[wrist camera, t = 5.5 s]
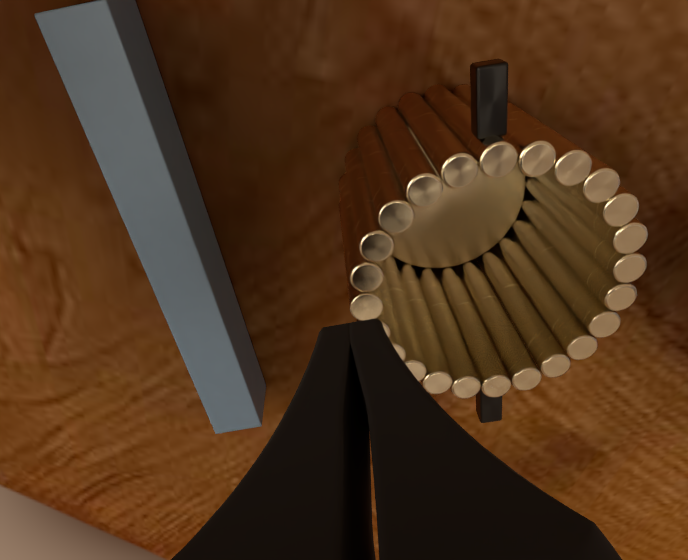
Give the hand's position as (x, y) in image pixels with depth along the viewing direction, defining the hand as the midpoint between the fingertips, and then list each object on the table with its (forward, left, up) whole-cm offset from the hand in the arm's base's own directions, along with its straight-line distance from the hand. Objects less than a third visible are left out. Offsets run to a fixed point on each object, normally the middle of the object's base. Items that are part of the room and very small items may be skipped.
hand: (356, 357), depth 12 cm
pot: (+1, 0, -8) cm, 8 cm away
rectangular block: (+6, 0, -9) cm, 11 cm away
